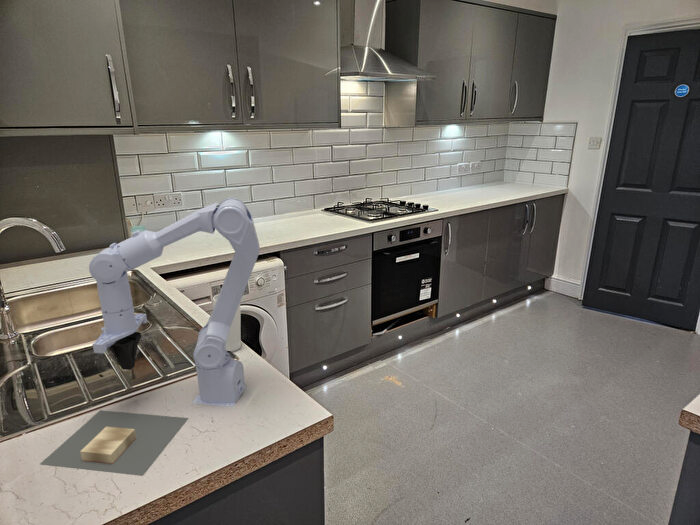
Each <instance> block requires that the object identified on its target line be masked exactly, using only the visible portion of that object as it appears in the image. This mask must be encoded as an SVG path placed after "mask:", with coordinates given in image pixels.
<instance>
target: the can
mask: <svg viewBox="0 0 700 525" xmlns="http://www.w3.org/2000/svg"><path fill="white" fill-rule="evenodd" d="M137 230H140V232H143V231H145V230H147V228H146V227H145V225H134V226H131V227H130V236H131V237H133V236H132V233H134V232H135V231H137ZM131 237H130V238H131Z"/></svg>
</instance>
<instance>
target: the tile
mask: <svg viewBox="0 0 700 525" xmlns="http://www.w3.org/2000/svg"><path fill="white" fill-rule="evenodd" d="M135 439H136V433H135V429H127V428H116V427H105V428H104V429H103V430H102V431H101V432H100V433H99V434H98V435H97V436H96V437H95V438H94V439H93V440H92V441H91V442H90V443H88V444H87V445H86V446H85V447H84V448H83V449H82V450H81V451H80V453H81V457H82V461H90V462H99V463H108V464H113V463H114V462H115V461H116V460H117V459H118V458H119V457H120V455H121V454H122V453H123V452H124V451H125V450H126V449H127V448H128V447H129V446H130V444H131V443H132V442H133V441H134V440H135Z"/></svg>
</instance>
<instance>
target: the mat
mask: <svg viewBox="0 0 700 525" xmlns="http://www.w3.org/2000/svg"><path fill="white" fill-rule="evenodd" d="M189 419H190V418H189V417H179V416H169V415H158V414H157V415H156V414H146V413H137V412H124V411H113V410H103V409H102V410H99V411H98V412H97V413H96V414H94V415H93V416H92V417H91V418H90V419H89V420H88V421H86V422H85V423H84V424H83V425H82V426H81V427H80V428H79V429H77V430H76V431H75V432H74V433H73V434H72V435H71V436H69V437H68V438H67V439H66V440H65V441H64V442H63V443H62V444H61V445H59V446H58V447H57V448H56V449H55V450H54V451H53V452H52V453H50V454H49V455H48V456H47V457H46V458H44V460H43V461H41V462H40V463H39V465H41V466H43V465H44V466H52V467H61V468H68V469H69V468H70V469H76V470H77V469H79V470H85V471H86V470H87V471H95V472H104V473H115V474H122V475H131V476H141V477H143V476H145V474H146V472H148V470H149V469H150V468H151V466H152V465H154V463H155V461H156V460H157V459H158V458H159V456H160V455H161V454H162V453H163V451H165V449H166V448H167V446H168V445H169V444H170V443H171V442H172V440H173V439H174V437H175V436H176V435H177V434H178V433H179V431H181V429H182V427H183V426H184V425H185V423H186V422H187V421H188V420H189ZM105 427H116V428H127V429H135V433H136V439H135V440H134V441H133V442H132V443H131V444H130V446H129V447H128V448H127V449H126V450H125V451H124V452H123V453H122V454H121V455H120V457H119V458H118V459H117V460H116V461H115V462H114V463H113V464H108V463H99V462H90V461H82V457H81V453H80V451H81V450H82V449H83V448H84V447H85V446H86V445H87V444H88V443H90V442H91V441H92V440H93V439H94V438H95V437H96V436H97V435H98V434H99V433H100V432H101V431H102V430H103V429H104V428H105Z"/></svg>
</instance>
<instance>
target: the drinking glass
mask: <svg viewBox="0 0 700 525" xmlns="http://www.w3.org/2000/svg"><path fill="white" fill-rule="evenodd" d="M218 296H219V293H218V294H216V295H214V296H213V297H212V302H213V303H212V305H213V306H212V307H213V308H214V306H215V304H216V301H217V298H218ZM241 313H242V311H241V302H240V303H239V306H238V309H237V311H236V314H235V316H234V319H233V321H232V324H231V327H230V330H229V334H228V338H227V341H226V348H225V349H226V350H227V351H231V352H230V353H233V352H236V351H238V350H239V349H241V348H242V337H241V333H242V332H241V322H242V321H241Z"/></svg>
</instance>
